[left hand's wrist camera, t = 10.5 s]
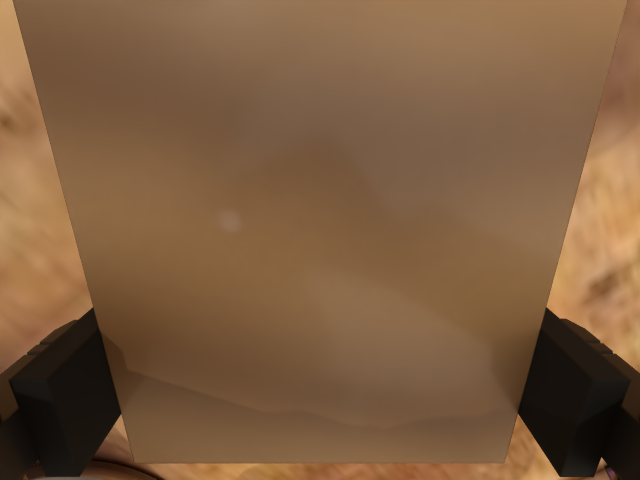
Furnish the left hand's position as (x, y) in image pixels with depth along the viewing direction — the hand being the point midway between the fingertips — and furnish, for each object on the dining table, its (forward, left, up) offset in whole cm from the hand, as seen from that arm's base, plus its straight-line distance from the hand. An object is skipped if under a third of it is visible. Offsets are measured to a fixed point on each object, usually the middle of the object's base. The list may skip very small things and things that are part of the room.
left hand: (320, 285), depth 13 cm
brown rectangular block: (+6, -3, -5) cm, 8 cm away
